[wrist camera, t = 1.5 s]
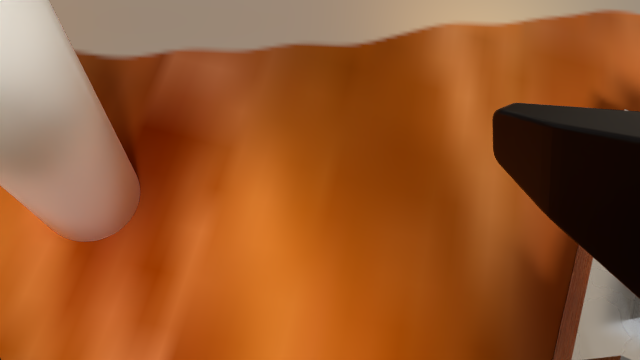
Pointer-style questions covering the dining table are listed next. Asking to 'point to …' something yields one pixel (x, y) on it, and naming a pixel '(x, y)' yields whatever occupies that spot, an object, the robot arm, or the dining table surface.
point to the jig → (598, 315)
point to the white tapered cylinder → (58, 131)
